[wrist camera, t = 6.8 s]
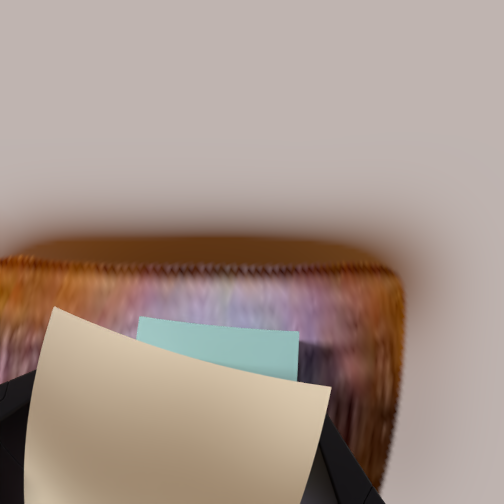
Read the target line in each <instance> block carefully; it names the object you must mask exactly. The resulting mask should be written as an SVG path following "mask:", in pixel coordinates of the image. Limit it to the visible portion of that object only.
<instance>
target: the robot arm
mask: <svg viewBox="0 0 504 504" xmlns="http://www.w3.org/2000/svg"><path fill="white" fill-rule="evenodd" d="M36 371H37V369H36V370H34V371H31V372H29V373H27V374H24V375H22V376H19V377H17V378H15V379H12V380H10V381H9V382H8V381H7V382H5V383H2V384H0V504H24V459H25V444H26V433H27V424H28V416H29V409H30V402H31V396H32V391H33V385H34V380H35V375H36ZM300 504H385V502H384V501H383V500H382V498H381V497H380V495H379V494H378V492H377V491H376V489H375V488H374V487H373V486H372V483H371V482H370V480H369V479H368V477H367V476H366V474H365V473H364V471H363V469H362V468H361V466H360V465H359V463H358V462H357V460H356V459H355V457H354V455H353V454H352V452H351V451H350V449H349V448H348V446H347V444H346V443H345V441H344V440H343V438H342V437H341V435H340V433H339V432H338V430H337V429H336V427H335V425H334V424H333V422H332V421H331V419H330V417H329V416H328V414H327V413H326V414H325V419H324V423H323V427H322V431H321V435H320V439H319V442H318V446H317V450H316V453H315V457H314V460H313V464H312V467H311V471H310V474H309V477H308V480H307V484H306V487H305V490H304V493H303V496H302V499H301V502H300Z"/></svg>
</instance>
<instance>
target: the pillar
mask: <svg viewBox="0 0 504 504" xmlns="http://www.w3.org/2000/svg"><path fill="white" fill-rule="evenodd" d="M330 392H331V387H328V386H321V385H314V384H308V383H302V382H296V381H290V380H285V379H280V378H274V377H269V376H265V375H260V374H255V373H251V372H246V371H242V370H237V369H233V368H229V367H225V366H221V365H217V364H213V363H210V362H206V361H202V360H199V359H195V358H192V357H188V356H185V355H181V354H178V353H175V352H171V351H168V350H165V349H162V348H159V347H156V346H153V345H150V344H147V343H144V342H141V341H138V340H135V339H132V338H130V337H127V336H124V335H121V334H119V333H116V332H113V331H111V330H108V329H106V328H103V327H101V326H98V325H96V324H93V323H91V322H88V321H86V320H84V319H81V318H79V317H77V316H74V315H72V314H70V313H68V312H65V311H63V310H61V309H59V308H57V307H54V308H53V311H52V314H51V318H50V321H49V324H48V328H47V331H46V334H45V338H44V342H43V346H42V349H41V353H40V358H39V362H38V366H37V371H36V375H35V380H34V385H33V391H32V396H31V402H30V409H29V416H28V424H27V433H26V444H25V459H24V504H300V502H301V499H302V496H303V493H304V490H305V487H306V484H307V480H308V477H309V474H310V471H311V467H312V464H313V460H314V457H315V453H316V450H317V446H318V442H319V439H320V435H321V431H322V427H323V423H324V419H325V414H326V410H327V406H328V401H329V397H330Z"/></svg>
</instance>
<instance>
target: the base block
mask: <svg viewBox="0 0 504 504" xmlns="http://www.w3.org/2000/svg"><path fill="white" fill-rule="evenodd" d="M136 340H138V341H141V342H144V343H147V344H150V345H153V346H156V347H159V348H162V349H165V350H168V351H171V352H175V353H178V354H181V355H185V356H188V357H192V358H195V359H199V360H202V361H206V362H210V363H213V364H217V365H221V366H225V367H229V368H233V369H237V370H242V371H246V372H251V373H255V374H260V375H265V376H269V377H274V378H280V379H285V380H290V381H296V382H297V371H298V349H299V332H297V331H277V330H261V329H247V328H235V327H224V326H213V325H204V324H194V323H186V322H178V321H170V320H162V319H155V318H148V317H141V316H140V317H139V324H138V330H137V338H136Z"/></svg>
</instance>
